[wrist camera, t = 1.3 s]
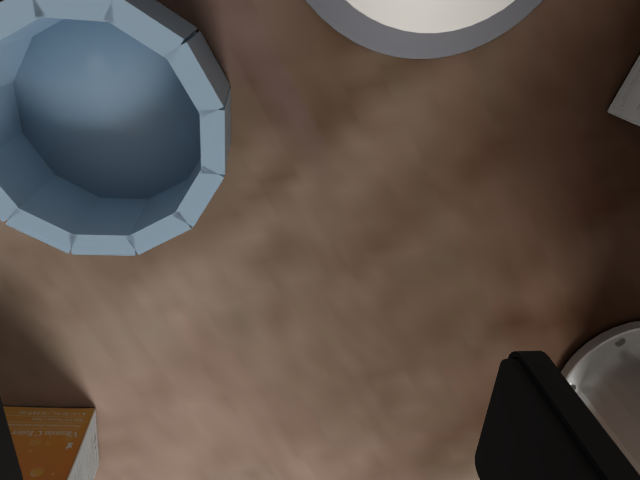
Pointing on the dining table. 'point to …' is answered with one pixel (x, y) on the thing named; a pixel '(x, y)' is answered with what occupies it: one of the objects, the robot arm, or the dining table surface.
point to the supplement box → (628, 97)
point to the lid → (429, 13)
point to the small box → (54, 442)
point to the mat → (418, 45)
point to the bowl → (107, 123)
